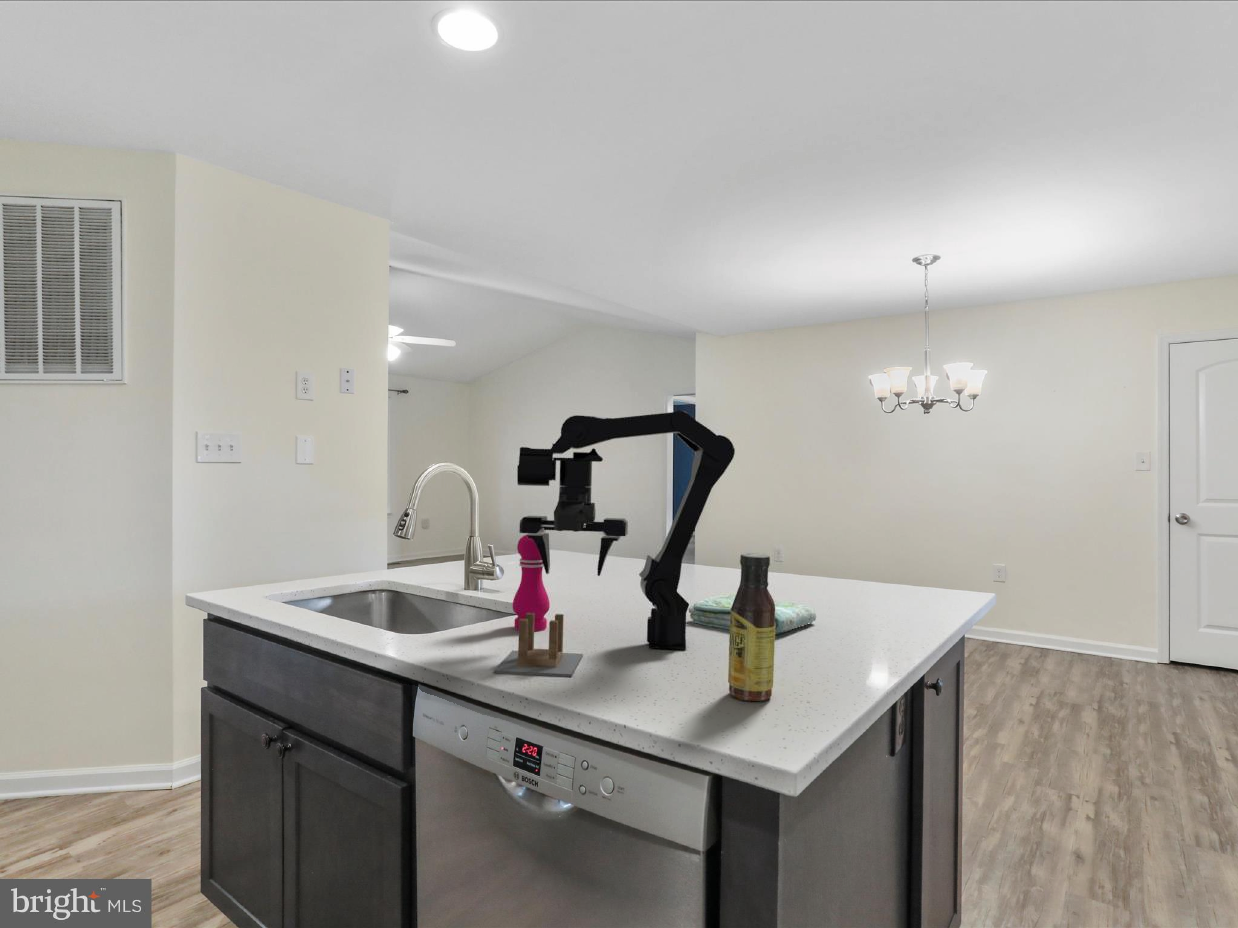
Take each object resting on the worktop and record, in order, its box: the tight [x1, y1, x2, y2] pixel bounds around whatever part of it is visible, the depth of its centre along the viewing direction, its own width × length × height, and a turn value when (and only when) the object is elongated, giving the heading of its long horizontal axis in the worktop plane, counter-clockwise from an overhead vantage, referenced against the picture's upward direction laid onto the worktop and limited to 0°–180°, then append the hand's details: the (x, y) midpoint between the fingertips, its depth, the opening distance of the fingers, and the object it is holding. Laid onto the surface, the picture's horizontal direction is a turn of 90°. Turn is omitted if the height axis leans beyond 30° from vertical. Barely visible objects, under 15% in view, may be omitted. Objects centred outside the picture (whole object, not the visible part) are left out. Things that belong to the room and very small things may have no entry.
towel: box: [688, 594, 817, 635], centre depth 146 cm, size 18×21×5 cm
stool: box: [517, 613, 565, 667], centre depth 111 cm, size 6×6×7 cm
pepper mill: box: [512, 533, 550, 632], centre depth 137 cm, size 7×7×20 cm
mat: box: [493, 650, 584, 678], centre depth 111 cm, size 12×12×1 cm
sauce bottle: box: [727, 552, 776, 702], centre depth 97 cm, size 7×6×20 cm
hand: (573, 574), depth 124 cm, fingers open, 9 cm apart
